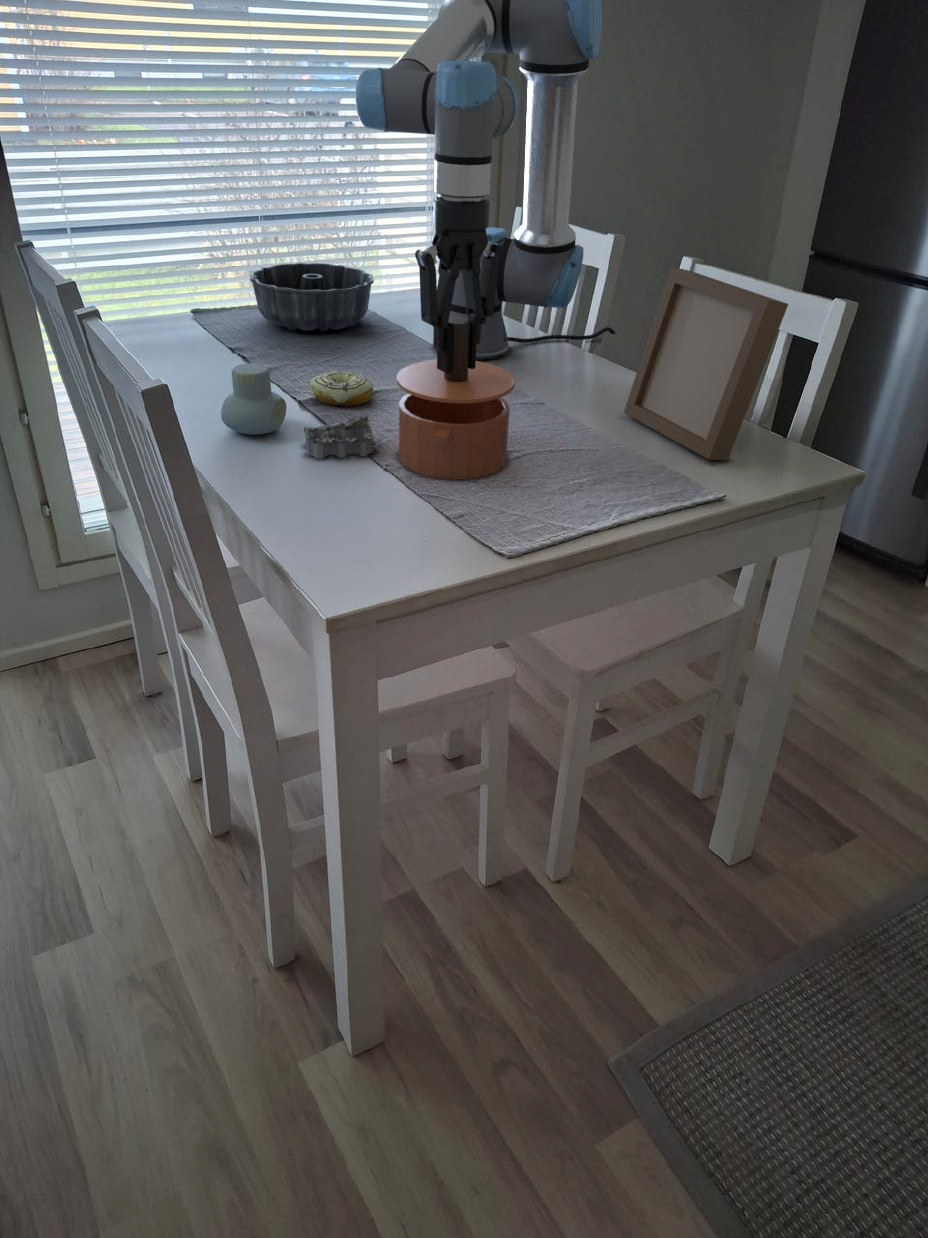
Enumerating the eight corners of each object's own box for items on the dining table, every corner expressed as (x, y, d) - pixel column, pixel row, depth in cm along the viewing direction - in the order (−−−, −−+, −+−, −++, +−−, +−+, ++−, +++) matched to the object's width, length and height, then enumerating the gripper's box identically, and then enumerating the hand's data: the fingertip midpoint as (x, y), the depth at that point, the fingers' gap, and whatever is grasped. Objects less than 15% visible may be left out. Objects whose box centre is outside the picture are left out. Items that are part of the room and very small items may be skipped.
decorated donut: (345, 413, 155) (344, 392, 153) (299, 399, 160) (298, 378, 158) (384, 397, 162) (383, 376, 160) (339, 383, 167) (338, 363, 165)
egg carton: (371, 439, 146) (370, 415, 144) (375, 458, 140) (375, 433, 138) (304, 440, 145) (303, 416, 142) (305, 460, 139) (304, 434, 136)
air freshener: (267, 444, 143) (262, 382, 137) (218, 438, 144) (211, 377, 138) (291, 419, 152) (287, 360, 146) (244, 414, 153) (238, 355, 147)
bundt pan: (329, 300, 216) (327, 256, 210) (398, 326, 200) (398, 279, 194) (230, 317, 200) (226, 270, 195) (298, 347, 184) (295, 296, 179)
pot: (514, 436, 150) (518, 386, 145) (493, 492, 132) (497, 437, 127) (416, 425, 152) (417, 376, 147) (382, 479, 134) (382, 425, 129)
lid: (521, 372, 142) (526, 309, 136) (504, 413, 127) (509, 344, 122) (412, 361, 144) (412, 299, 139) (383, 400, 130) (382, 332, 124)
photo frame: (707, 465, 143) (740, 303, 129) (622, 418, 159) (644, 268, 145) (775, 449, 150) (813, 293, 136) (687, 406, 165) (714, 262, 151)
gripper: (495, 187, 128) (487, 352, 141) (393, 195, 120) (394, 369, 133) (528, 196, 123) (516, 366, 136) (424, 205, 115) (421, 385, 128)
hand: (456, 367), depth 134 cm, fingers closed on lid, 4 cm apart
